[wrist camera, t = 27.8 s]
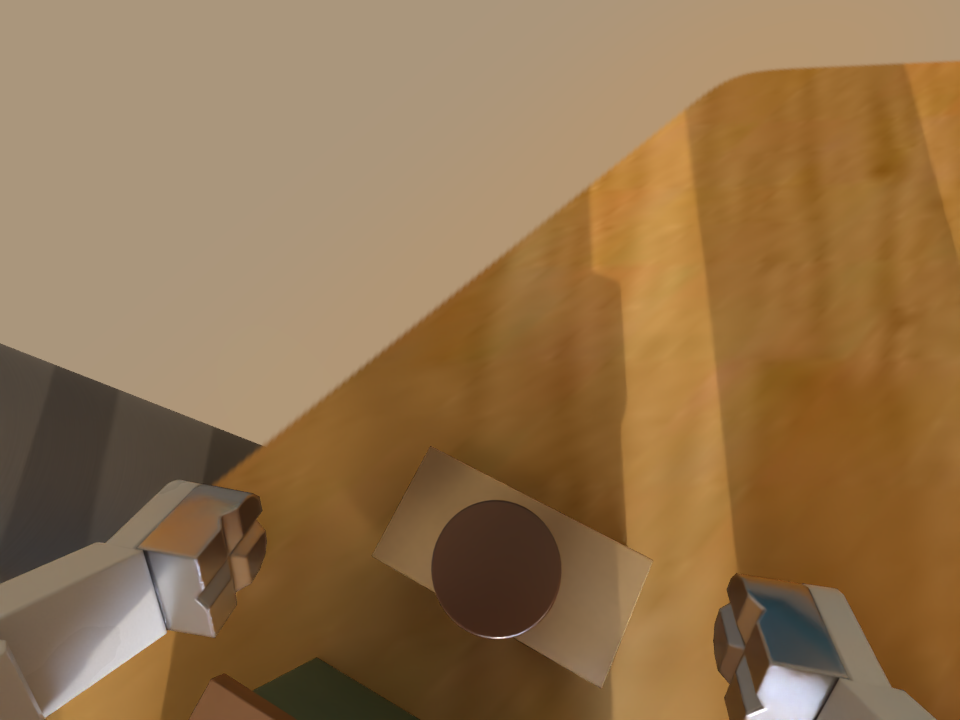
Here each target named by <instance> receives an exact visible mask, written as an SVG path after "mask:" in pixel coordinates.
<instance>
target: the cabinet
mask: <svg viewBox="0 0 960 720" xmlns="http://www.w3.org/2000/svg"><path fill="white" fill-rule="evenodd" d="M189 720H419V719H418V718H416V717H415V716H413V715H411V714H410V713H408V712H406V711H405V710H403V709H401V708H400V707H398V706H396V705H395V704H393V703H391V702H390V701H388V700H386V699H385V698H383V697H381V696H380V695H378V694H376V693H375V692H373V691H371V690H370V689H368V688H367V687H365V686H363V685H362V684H360V683H358V682H357V681H355V680H353V679H352V678H350V677H348V676H347V675H345V674H343V673H342V672H340V671H338V670H337V669H335V668H333V667H332V666H330V665H328V664H327V663H325V662H323V661H322V660H320V659H319V658H315V659H313V660H311V661H309V662H307V663H305V664H303V665H301V666H299V667H297V668H295V669H294V670H292V671H290V672H288V673H286V674H284V675H282V676H280V677H278V678H276V679H274V680H272V681H270V682H268V683H267V684H265V685H263V686H261V687H259V688H257V689H255V690H253V691H251V690H250V689H248V688H247V687H245V686H244V685H242V684H240V683H239V682H237V681H236V680H234V679H233V678H231V677H229V676H228V675H226V674H222V675H219V676H217V677H214V678H212V679H211V680H210V682H209V684H208V686H207V687H206V689H205V691H204V693H203V694H202V696H201V698H200V700H199V702H198V703H197V705H196V707H195V709H194V711H193V712H192V714H191V716H190V718H189Z"/></svg>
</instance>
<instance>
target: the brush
mask: <svg viewBox="0 0 960 720" xmlns="http://www.w3.org/2000/svg"><path fill="white" fill-rule="evenodd" d="M372 557H374V558H375V559H377V560H379V561H380V562H382V563H384V564H386V565H387V566H389V567H391V568H393V569H394V570H396V571H398V572H400V573H401V574H403V575H405V576H407V577H408V578H410V579H412V580H413V581H415V582H417V583H419V584H420V585H422V586H424V587H426V588H427V589H429V590H431V591H433V592H434V593H435V594H436V596H437V599H438V601H439V603H440V605H441V606H442V608H443V610H444V611H445V613H446V614H447V615H448V616H449V617H450V618H451V620H452V621H454V622H455V623H456V624H457V625H458V626H459V627H461V628H462V629H464V630H465V631H467V632H469V633H471V634H473V635H476V636H479V637H482V638H488V639H507V638H514V639H516V640H518V641H519V642H521V643H523V644H525V645H526V646H528V647H530V648H532V649H533V650H535V651H537V652H538V653H540V654H542V655H544V656H545V657H547V658H549V659H551V660H552V661H554V662H556V663H558V664H559V665H561V666H563V667H565V668H566V669H568V670H570V671H571V672H573V673H575V674H577V675H578V676H580V677H582V678H584V679H585V680H587V681H589V682H591V683H592V684H594V685H596V686H598V687H599V688H602V687H603V685H604V682H605V680H606V677H607V675H608V672H609V670H610V667H611V665H612V662H613V660H614V657H615V655H616V652H617V650H618V647H619V645H620V642H621V640H622V637H623V635H624V632H625V630H626V627H627V625H628V623H629V620H630V618H631V615H632V613H633V610H634V608H635V605H636V603H637V600H638V598H639V595H640V593H641V590H642V588H643V585H644V583H645V580H646V578H647V575H648V573H649V570H650V568H651V565H652V563H653V560H652V559H650V558H648V557H646V556H644V555H642V554H640V553H638V552H636V551H634V550H632V549H631V548H629V547H627V546H625V545H623V544H621V543H619V542H617V541H615V540H613V539H611V538H609V537H607V536H605V535H603V534H601V533H599V532H597V531H595V530H593V529H592V528H590V527H588V526H586V525H584V524H582V523H580V522H578V521H576V520H574V519H572V518H570V517H568V516H566V515H564V514H562V513H560V512H558V511H556V510H554V509H553V508H551V507H549V506H547V505H545V504H543V503H541V502H539V501H537V500H535V499H533V498H531V497H529V496H527V495H525V494H523V493H521V492H519V491H517V490H515V489H514V488H512V487H510V486H508V485H506V484H504V483H502V482H500V481H498V480H496V479H494V478H492V477H490V476H488V475H486V474H484V473H482V472H480V471H478V470H476V469H475V468H473V467H471V466H469V465H467V464H465V463H463V462H461V461H459V460H457V459H455V458H453V457H451V456H449V455H447V454H445V453H443V452H441V451H439V450H437V449H436V448H434V447H432V446H431V447H430V448H429V450H428V452H427V453H426V455H425V457H424V459H423V461H422V463H421V465H420V466H419V468H418V470H417V472H416V474H415V476H414V478H413V480H412V481H411V483H410V485H409V487H408V489H407V491H406V493H405V494H404V496H403V498H402V500H401V502H400V504H399V506H398V507H397V509H396V511H395V513H394V515H393V517H392V519H391V520H390V522H389V524H388V526H387V528H386V530H385V532H384V534H383V535H382V537H381V539H380V541H379V543H378V545H377V547H376V548H375V550H374V552H373V554H372Z"/></svg>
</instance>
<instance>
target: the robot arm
mask: <svg viewBox="0 0 960 720" xmlns="http://www.w3.org/2000/svg"><path fill="white" fill-rule="evenodd" d="M261 512H262V506H261V501H260V497H259V496H257V495H255V494H253V493H248V492H243V491H238V490H233V489H228V488H222V487H217V486H212V485H207V484H198V483H193V482H188V481H183V480H175V481H172V482H170V483H168V484H167V485H166V486H165V487H164V488H163V489H162V490H161V491H159V492H158V493H157V494H156V495H155V496H154V497H153V498H152V499H151V500H150V501H149V502H148V503H147V504H146V505H145V506H144V507H143V508H142V509H141V510H140V511H139V512H138V513H136V514H135V515H134V516H133V517H132V518H131V519H130V520H129V521H128V522H127V523H126V524H125V525H124V526H123V527H122V528H121V529H120V530H119V531H118V532H117V533H116V534H115V535H114V536H112V537H111V538H110V539H109V540H108V541H107V542H106V543H100V542H96V543H94V544H91V545H89V546H87V547H84V548H82V549H80V550H77V551H75V552H73V553H71V554H68V555H66V556H64V557H61V558H59V559H57V560H54V561H52V562H50V563H47V564H45V565H43V566H40V567H38V568H36V569H34V570H31V571H29V572H27V573H24V574H22V575H20V576H17V577H15V578H13V579H10V580H8V581H6V582H3V583H1V584H0V720H45V718H46V717H47V716H48V715H50V714H51V713H53V712H54V711H56V710H57V709H59V708H60V707H61V706H63V705H64V704H66V703H67V702H69V701H70V700H71V699H73V698H74V697H76V696H77V695H79V694H80V693H81V692H83V691H84V690H86V689H87V688H89V687H90V686H92V685H93V684H94V683H96V682H97V681H99V680H100V679H102V678H103V677H104V676H106V675H107V674H109V673H110V672H112V671H113V670H114V669H116V668H117V667H119V666H120V665H122V664H123V663H124V662H126V661H127V660H129V659H130V658H132V657H133V656H135V655H136V654H137V653H139V652H140V651H142V650H143V649H145V648H146V647H147V646H149V645H150V644H152V643H153V642H155V641H156V640H157V639H159V638H160V637H162V636H163V635H165V634H166V633H167V630H171V631H177V632H183V633H189V634H195V635H200V636H206V637H212V638H215V637H216V636H217V634H218V633H219V631H220V630H221V628H222V627H223V625H224V624H225V622H226V621H227V619H228V618H229V616H230V615H231V613H232V612H233V610H234V609H235V607H236V606H237V597H236V592H237V591H239V590H241V589H242V588H244V587H246V586H248V585H249V584H251V583H252V581H253V580H254V578H255V577H256V575H257V574H258V572H259V570H260V568H261V565H262V562H263V560H264V557H265V554H266V545H267V538H266V530H265V529H264V528H263V527H262V525H261V524H260V523H259V522H258V521H257V520H256V519H257V518H258V516H259V515H260V514H261ZM727 593H728V597H729V600H730V603H729V604H727V605H725V606H723V607H722V608H720V609H719V612H718V615H717V618H716V621H715V626H714V639H713V643H714V654H715V659H716V664H717V669H718V671H719V672H720V673H721V675H722V676H723V677H724V678H725V679H726V680H727V682H728V683H729V684H730V685H729V687H728V690H727V692H726V695H725V697H724V699H725V704H726V708H727V712H728V716H729V720H937V719H936V718H934V717H933V716H932V715H931V714H930V713H929V712H928V711H926V710H925V709H924V708H923V707H922V706H921V705H920V704H918V703H917V702H916V701H915V700H914V699H913V698H912V697H911V696H909V695H908V694H907V693H906V692H905V691H904V690H900V689H895V688H892V687H891V685H890V683H889V681H888V679H887V677H886V675H885V673H884V671H883V669H882V668H881V666H880V664H879V662H878V660H877V658H876V656H875V654H874V652H873V650H872V648H871V646H870V644H869V642H868V640H867V639H866V637H865V635H864V633H863V631H862V629H861V627H860V625H859V623H858V621H857V619H856V617H855V615H854V613H853V612H852V610H851V608H850V606H849V604H848V602H847V600H846V598H845V596H844V594H842V593H841V592H840V591H839V590H838V589H836V588H829V587H823V586H816V585H810V584H800V583H796V582H790V581H783V580H777V579H771V578H764V577H758V576H751V575H745V574H739V573H736V574H735V575H734V576H733V577H732V578H731V580H730V582H729V585H728V587H727Z"/></svg>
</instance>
